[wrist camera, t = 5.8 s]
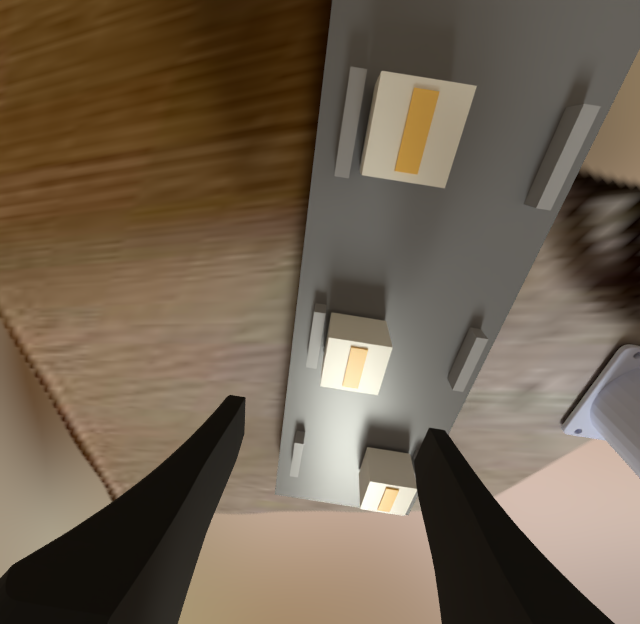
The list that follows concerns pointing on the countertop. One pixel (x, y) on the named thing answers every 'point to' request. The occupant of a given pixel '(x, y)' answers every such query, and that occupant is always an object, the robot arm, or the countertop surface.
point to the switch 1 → (386, 481)
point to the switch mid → (355, 353)
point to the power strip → (436, 211)
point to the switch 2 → (414, 128)
